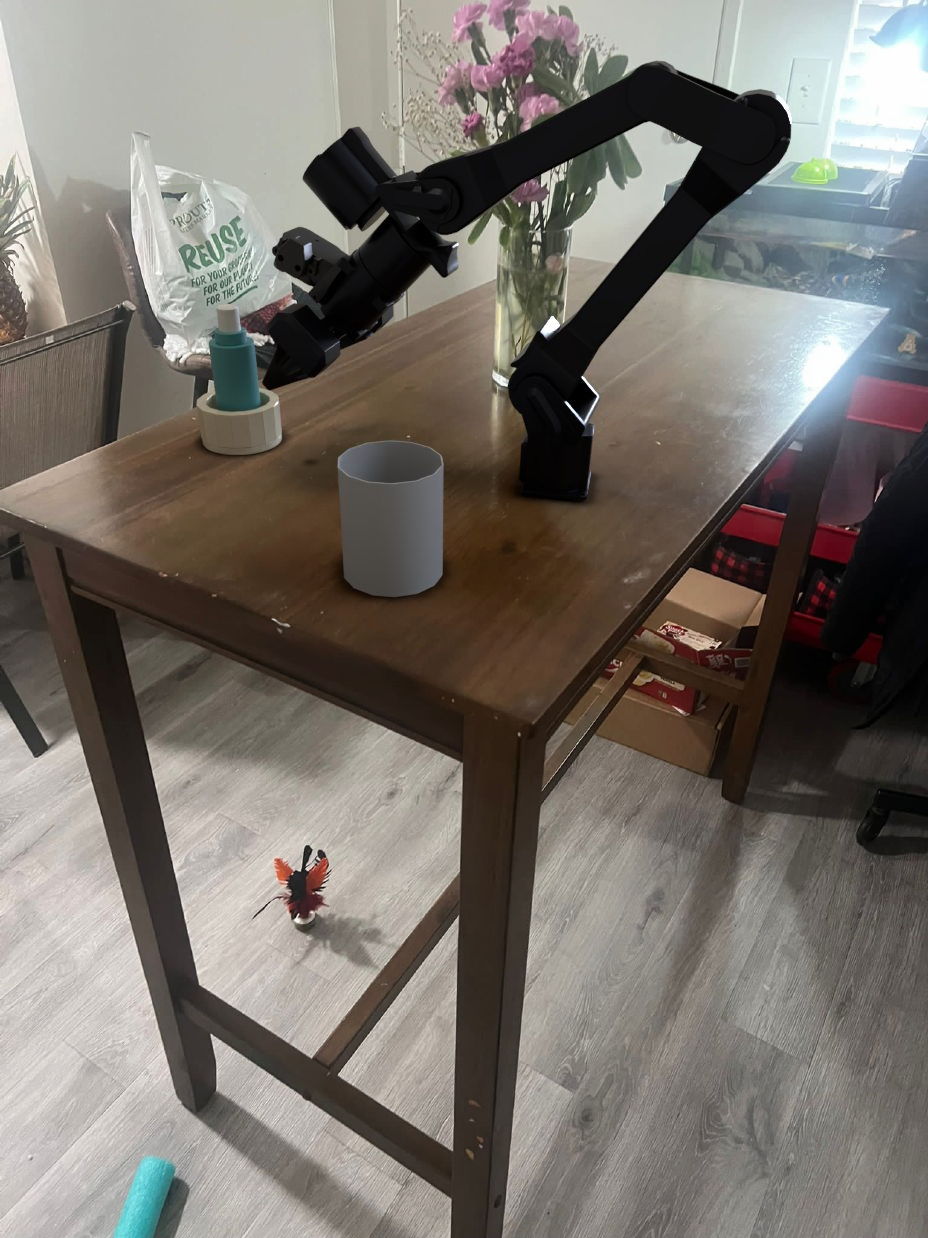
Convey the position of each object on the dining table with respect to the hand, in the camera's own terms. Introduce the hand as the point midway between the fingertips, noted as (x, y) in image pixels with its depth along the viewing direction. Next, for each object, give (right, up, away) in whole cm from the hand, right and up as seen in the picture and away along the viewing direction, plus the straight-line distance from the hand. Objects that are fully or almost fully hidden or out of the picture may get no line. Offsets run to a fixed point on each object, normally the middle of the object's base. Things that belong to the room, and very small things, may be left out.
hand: (286, 372), depth 94 cm
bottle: (-6, -5, +5) cm, 10 cm away
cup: (+12, -22, -17) cm, 30 cm away
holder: (-6, -6, +6) cm, 10 cm away
